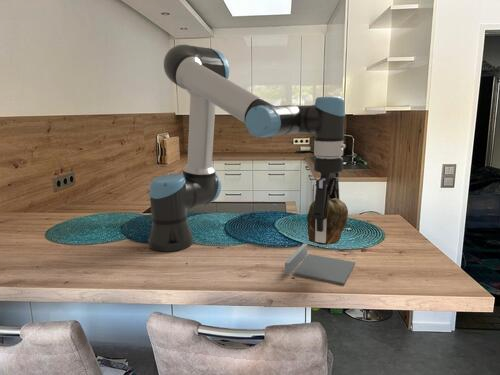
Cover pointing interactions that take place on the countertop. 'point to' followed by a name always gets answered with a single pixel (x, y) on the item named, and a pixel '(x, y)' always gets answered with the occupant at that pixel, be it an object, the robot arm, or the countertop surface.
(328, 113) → the robot arm
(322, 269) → the pad
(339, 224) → the brown rounded lump
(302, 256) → the acrylic wall
